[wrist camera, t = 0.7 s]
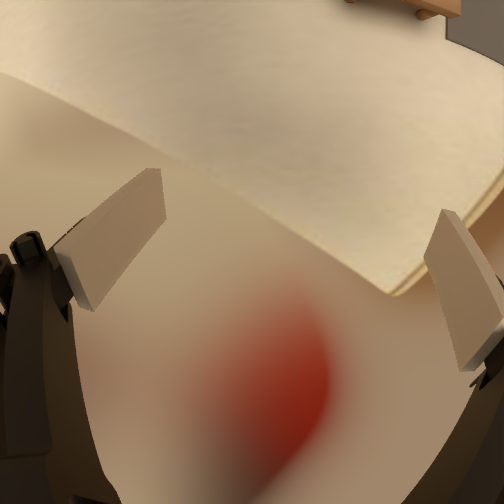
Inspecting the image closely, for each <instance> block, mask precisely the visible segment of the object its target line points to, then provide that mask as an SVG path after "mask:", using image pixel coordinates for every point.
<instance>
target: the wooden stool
mask: <svg viewBox="0 0 504 504" xmlns="http://www.w3.org/2000/svg"><path fill="white" fill-rule="evenodd" d="M345 1H346V2H348V3H353V2H354V1H355V0H345ZM396 1H400V2H403V3H407V4H410V5H414V6H417V7H420V8H422V9H420V10H418V11H417V12H416V16H417V18H418V19H420V20H426V19H428V18H431V17H433V16H436V15H439V14H440V15H443V16H445V17H448V18H450V19H452V18H455V17H459V16H461V0H396Z"/></svg>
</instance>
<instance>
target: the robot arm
mask: <svg viewBox="0 0 504 504" xmlns="http://www.w3.org/2000/svg"><path fill="white" fill-rule="evenodd" d="M165 220H166V212H165V204H164V196H163V187H162V179H161V169H153V168H146V169H145V170H144V171H142V172H141V173H140V174H138V175H137V176H136V177H134V178H133V179H132V180H130V181H129V182H128V183H127V184H125V185H124V186H123V187H121V188H120V189H119V190H118V191H116V192H115V193H114V194H113V195H112V196H110V197H109V198H108V199H107V200H105V201H104V202H103V203H102V204H101V205H99V206H98V207H97V208H96V209H95V210H94V211H92V212H91V213H90V214H89V215H88V216H86V217H84V218H83V219H81V220H80V221H79V222H78V223H76V224H75V225H74V226H73V228H71V229H70V230H69V231H68V232H67V234H64V235H63V236H62V237H61V238H60V239H59V240H58V241H57V242H56V243H55V244H54V245H53V246H52V247H51V248H50V249H49V250H48V251H46V249H45V246H44V244H43V241H42V238H41V236H40V233H39V232H37V231H30V232H26V233H24V234H22V235H20V236H19V237H17V238H16V239H15V240H14V241H13V242H12V243H11V245H10V250H11V252H12V254H13V256H14V258H15V261H16V263H17V264H11V262H10V259H9V257H8V255H6V254H0V303H1V304H2V306H3V308H4V309H5V311H4V314H3V315H2V314H1V312H0V504H122V503H121V501H120V498H119V497H118V494H117V492H116V491H115V489H114V487H113V486H112V485H111V483H110V482H109V481H108V480H107V478H106V476H105V475H104V472H103V470H102V467H101V464H100V461H99V458H98V455H97V451H96V448H95V444H94V441H93V437H92V433H91V429H90V425H89V421H88V417H87V413H86V408H85V403H84V399H83V393H82V388H81V383H80V376H79V370H78V363H77V356H76V348H75V339H74V328H73V315H72V307H71V304H70V302H69V301H70V300H71V298H72V297H73V296H74V297H75V299H76V301H77V303H78V305H79V307H81V308H84V309H87V310H90V311H93V312H94V311H95V310H96V308H97V307H98V305H99V304H100V303H101V301H102V300H103V299H104V297H105V296H106V295H107V293H108V292H109V291H110V289H111V288H112V286H113V285H114V284H115V282H116V281H117V280H118V278H119V277H120V276H121V275H122V273H123V272H124V270H125V269H126V268H127V267H128V265H129V264H130V263H131V262H132V260H133V259H134V258H135V257H136V255H137V254H138V253H139V252H140V250H141V249H142V248H143V246H144V245H145V244H146V243H147V241H148V240H149V239H150V238H151V237H152V235H153V234H154V233H155V232H156V231H157V229H158V228H159V227H160V226H161V225H162V224H163V222H164V221H165ZM424 260H425V262H426V265H427V267H428V270H429V273H430V275H431V278H432V281H433V283H434V286H435V289H436V291H437V294H438V297H439V300H440V303H441V306H442V309H443V312H444V316H445V319H446V322H447V325H448V329H449V332H450V336H451V339H452V343H453V347H454V351H455V355H456V359H457V363H458V367H459V371H475V370H476V369H477V368H478V367H479V366H480V365H481V363H482V362H483V361H484V363H485V366H486V369H485V370H484V371H483V372H482V373H481V374H480V375H479V376H478V377H477V378H476V379H475V380H474V381H473V382H472V383H471V384H470V386H469V387H472V386H473V385H474V384H476V386H475V388H474V391H473V393H472V395H471V397H470V399H469V401H468V403H467V405H466V407H465V409H464V411H463V413H462V415H461V417H460V418H459V420H458V422H457V424H456V426H455V427H454V429H453V431H452V433H451V435H450V436H449V438H448V440H447V441H446V443H445V444H444V446H443V448H442V449H441V451H440V452H439V454H438V455H437V457H436V458H435V460H434V461H433V463H432V464H431V466H430V467H429V469H428V470H427V471H426V473H425V474H424V476H423V477H422V478H421V480H420V481H419V482H418V484H417V485H416V486H415V487H414V489H413V490H412V491H411V492H410V494H409V495H408V496H407V497H406V499H405V500H404V501H403V502H402V503H401V504H504V285H503V283H502V281H501V280H500V279H499V278H498V277H497V275H496V274H495V273H494V271H493V270H492V268H491V266H490V265H489V263H488V261H487V259H486V258H485V256H484V255H483V253H482V251H481V250H480V248H479V247H478V245H477V243H476V242H475V240H474V239H473V237H472V236H471V234H470V233H469V231H468V230H467V228H466V227H465V225H464V224H463V223H462V221H461V220H460V218H459V217H458V215H457V214H456V213H455V212H454V211H450V210H446V209H442V210H441V213H440V215H439V218H438V221H437V224H436V226H435V229H434V232H433V234H432V237H431V239H430V242H429V244H428V247H427V249H426V252H425V254H424Z"/></svg>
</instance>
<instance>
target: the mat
mask: <svg viewBox="0 0 504 504" xmlns="http://www.w3.org/2000/svg"><path fill="white" fill-rule="evenodd" d="M446 39H447V40H450V41H453V42H455V43H457V44H460V45H462V46H465V47H467V48H469V49H472V50H474V51H476V52H478V53H480V54H482V55H484V56H487V57H489V58H491V59H493V60H494V61H496V62H498V63H500V64H502V65H504V0H461V16H459V17H455V18H452V19H450V18H448V17H446Z"/></svg>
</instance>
